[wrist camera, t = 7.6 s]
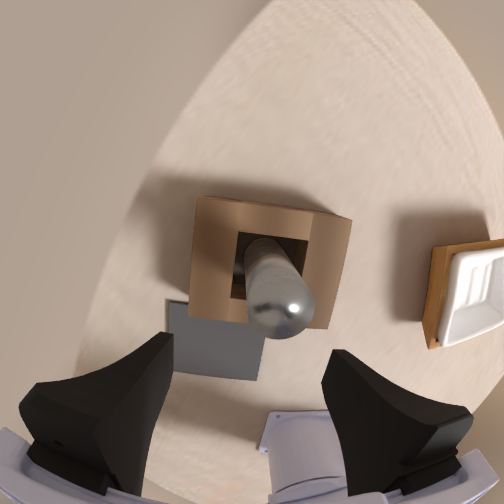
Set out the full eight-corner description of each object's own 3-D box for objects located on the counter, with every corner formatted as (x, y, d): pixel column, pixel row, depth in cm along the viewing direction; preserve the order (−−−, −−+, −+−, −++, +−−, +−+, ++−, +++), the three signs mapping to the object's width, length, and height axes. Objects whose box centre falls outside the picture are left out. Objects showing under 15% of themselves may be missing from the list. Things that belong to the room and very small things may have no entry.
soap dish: (494, 230, 21) (525, 239, 16) (482, 309, 23) (508, 325, 19) (421, 236, 21) (457, 250, 16) (409, 332, 23) (436, 358, 18)
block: (337, 215, 20) (352, 220, 17) (317, 311, 22) (327, 329, 19) (204, 196, 19) (197, 197, 16) (194, 299, 21) (188, 316, 18)
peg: (287, 240, 20) (321, 281, 11) (280, 278, 21) (306, 341, 12) (247, 235, 20) (252, 274, 11) (241, 274, 21) (243, 336, 12)
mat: (268, 313, 22) (269, 314, 21) (256, 378, 23) (256, 380, 23) (169, 301, 21) (169, 302, 21) (170, 368, 23) (169, 370, 22)
